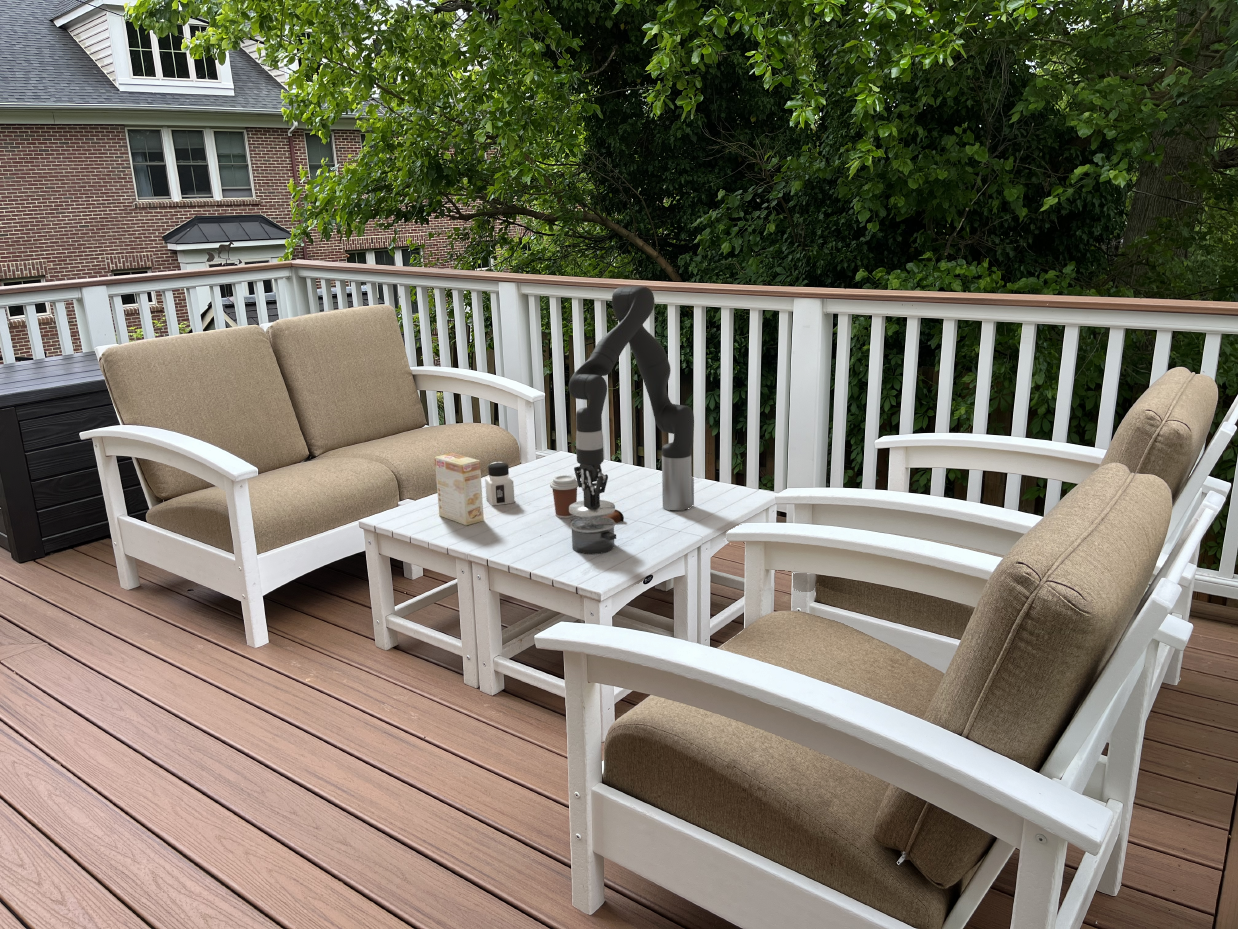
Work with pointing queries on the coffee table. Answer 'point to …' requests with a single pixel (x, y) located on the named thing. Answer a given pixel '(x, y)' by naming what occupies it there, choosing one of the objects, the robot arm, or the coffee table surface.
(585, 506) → the lid
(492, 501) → the container
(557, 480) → the coffee cup
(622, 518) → the sunglasses case
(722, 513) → the coffee table surface
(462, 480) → the coffeecake box
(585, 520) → the pot
